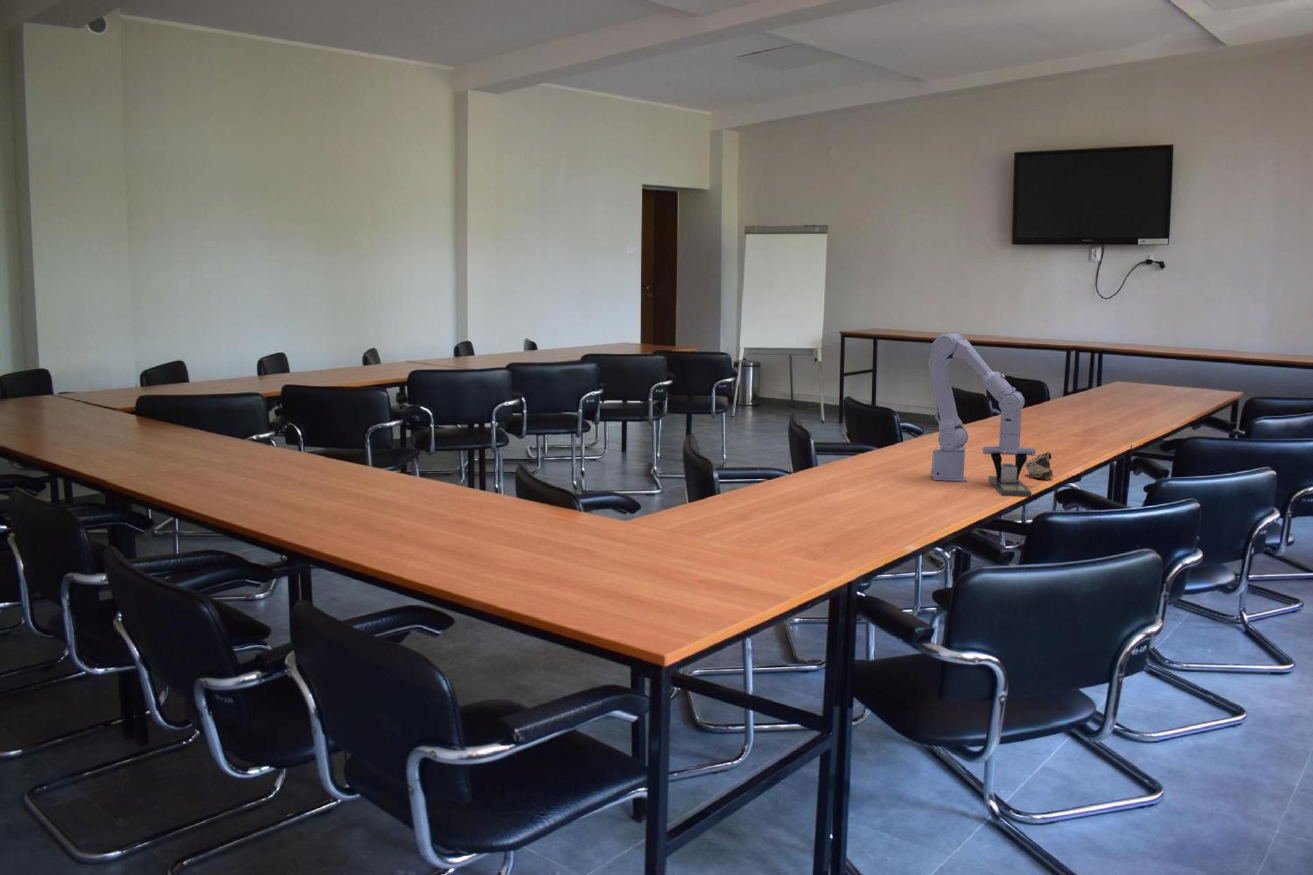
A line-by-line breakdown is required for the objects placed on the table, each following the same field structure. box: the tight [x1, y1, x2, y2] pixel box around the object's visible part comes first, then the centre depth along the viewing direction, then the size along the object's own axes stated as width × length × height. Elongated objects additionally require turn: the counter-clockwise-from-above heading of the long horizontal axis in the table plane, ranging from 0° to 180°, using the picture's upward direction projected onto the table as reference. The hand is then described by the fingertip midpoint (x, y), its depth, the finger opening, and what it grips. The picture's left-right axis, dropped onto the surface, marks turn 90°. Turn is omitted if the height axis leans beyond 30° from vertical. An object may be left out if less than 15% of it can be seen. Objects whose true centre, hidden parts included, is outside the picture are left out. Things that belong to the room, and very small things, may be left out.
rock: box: [1024, 451, 1054, 481], centre depth 318 cm, size 9×7×10 cm
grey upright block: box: [998, 463, 1017, 484], centre depth 305 cm, size 4×4×6 cm
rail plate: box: [988, 475, 1032, 498], centre depth 302 cm, size 8×22×1 cm, turn 172°
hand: (1007, 478), depth 305 cm, fingers closed on grey upright block, 4 cm apart
